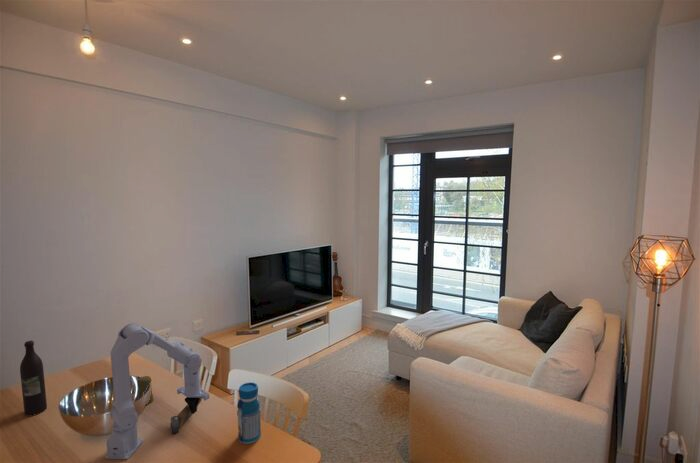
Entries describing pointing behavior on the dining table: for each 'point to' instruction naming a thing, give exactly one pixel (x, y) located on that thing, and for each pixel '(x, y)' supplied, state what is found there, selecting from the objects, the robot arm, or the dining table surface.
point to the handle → (183, 416)
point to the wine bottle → (32, 381)
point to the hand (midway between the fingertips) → (194, 412)
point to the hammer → (176, 423)
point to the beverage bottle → (248, 414)
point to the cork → (144, 386)
